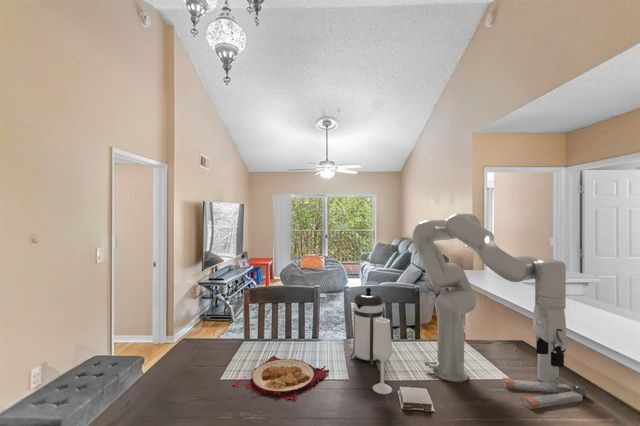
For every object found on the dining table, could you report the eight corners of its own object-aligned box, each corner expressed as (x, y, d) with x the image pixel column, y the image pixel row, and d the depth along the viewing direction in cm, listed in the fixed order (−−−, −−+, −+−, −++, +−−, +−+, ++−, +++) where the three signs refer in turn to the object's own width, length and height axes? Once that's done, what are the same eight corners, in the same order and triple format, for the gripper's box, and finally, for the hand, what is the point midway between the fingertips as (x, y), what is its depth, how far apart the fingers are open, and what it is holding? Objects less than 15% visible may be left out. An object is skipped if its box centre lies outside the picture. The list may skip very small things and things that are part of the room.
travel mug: (563, 387, 115) (563, 331, 115) (542, 385, 116) (542, 330, 116) (554, 378, 121) (554, 325, 121) (534, 377, 122) (535, 324, 122)
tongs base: (579, 390, 113) (579, 382, 113) (588, 398, 108) (589, 390, 108) (502, 384, 117) (502, 376, 117) (508, 391, 112) (508, 383, 112)
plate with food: (273, 360, 137) (273, 351, 137) (329, 373, 124) (329, 364, 124) (232, 389, 115) (231, 378, 115) (295, 408, 103) (294, 397, 103)
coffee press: (392, 367, 129) (392, 292, 129) (351, 366, 130) (352, 291, 130) (384, 348, 147) (384, 282, 147) (348, 348, 147) (349, 282, 147)
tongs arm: (574, 396, 109) (574, 389, 109) (582, 401, 107) (582, 394, 107) (523, 404, 105) (523, 396, 105) (530, 409, 102) (530, 401, 102)
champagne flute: (379, 381, 118) (380, 315, 118) (395, 388, 114) (396, 320, 114) (368, 388, 114) (369, 320, 114) (384, 396, 109) (385, 325, 109)
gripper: (523, 293, 107) (522, 346, 107) (551, 309, 89) (551, 372, 89) (548, 294, 105) (547, 348, 105) (582, 310, 88) (581, 375, 88)
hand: (549, 359), depth 97 cm, fingers open, 7 cm apart
